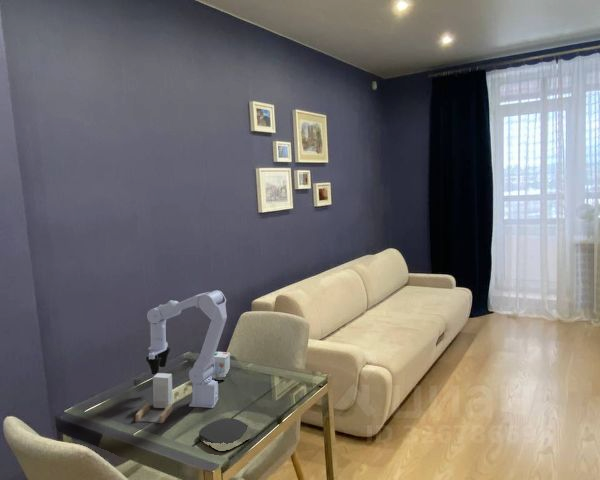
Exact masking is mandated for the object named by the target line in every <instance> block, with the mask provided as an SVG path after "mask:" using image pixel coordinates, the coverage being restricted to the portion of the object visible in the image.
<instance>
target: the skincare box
mask: <svg viewBox="0 0 600 480" xmlns="http://www.w3.org/2000/svg"><path fill="white" fill-rule="evenodd" d="M152 393H153V394H152V396H153V397H152V399H153V404H152V405H153V408H157V409H166V407H167V406H168V405H169V404H172V405H173V373H166V372H165V373H163V372H158V373H157V374H156V375H154V376H152Z"/></svg>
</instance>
